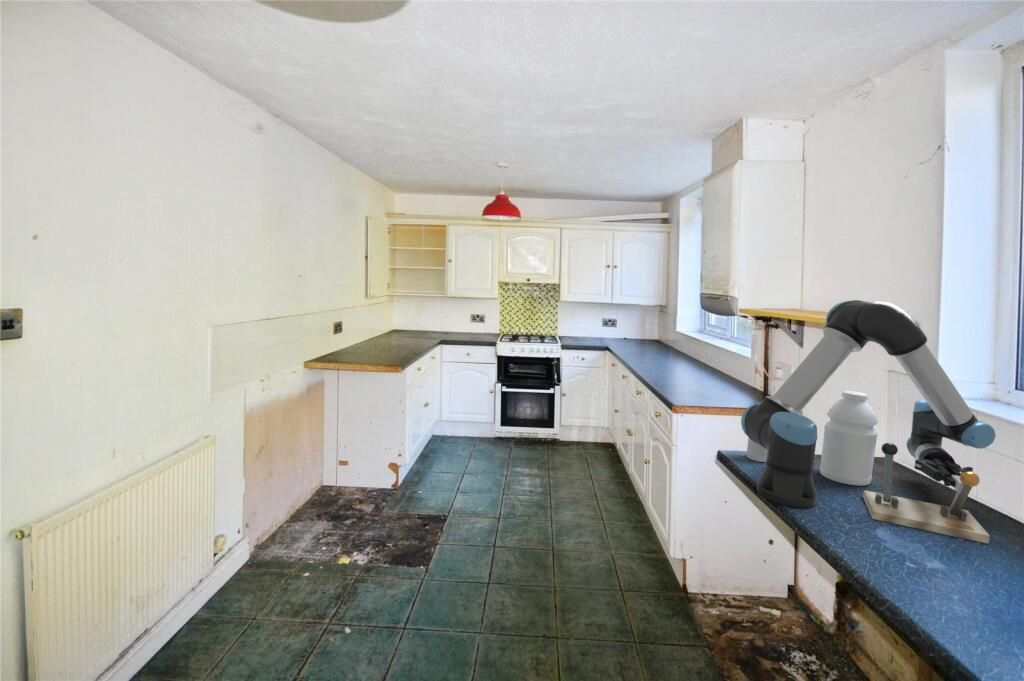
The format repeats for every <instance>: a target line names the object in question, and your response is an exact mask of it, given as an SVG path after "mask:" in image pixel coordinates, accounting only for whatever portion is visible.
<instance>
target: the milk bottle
mask: <svg viewBox="0 0 1024 681" xmlns="http://www.w3.org/2000/svg"><path fill="white" fill-rule="evenodd" d="M761 402H762V401H760V402H757V403H756V404H760V403H761ZM747 437H748V436H747ZM746 448H747V449H746V457H747V458H748V459H750V460H751V461H754V462H759V463H766V461H767V451H768V450H767V449H765V448H764V447H762V446H761V445H759V444H758V443H755V442H753V441H752V440H751V439H750V438H749V437H748V438H747V446H746Z"/></svg>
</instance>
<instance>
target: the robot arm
mask: <svg viewBox="0 0 1024 681" xmlns="http://www.w3.org/2000/svg"><path fill="white" fill-rule="evenodd" d="M826 314H827V315H826V318H825V320H826V322H825V326H824V328H823V329H822V332H823V336H822V338H821V339H820V340H819V342H818V343H817V344H816V345H815V346H814V347H813V348H812V350H811V351H810V352H809V353H808V354H807V356H806V357H805V358H804V359H803V361H801V362H800V364H799V365H798V366H797V367H796V368H795V370H794V371H793V372H792V373H791V374H790V375H789V377H788V378H787V379H786V380H785V381H784V383H783V384H782V385H781V386H780V387H779V389H777V391H776V392H775V393H774V394H773V395H766V396H765V397H764V398H763V399H762V400H761V401H760V402H761V403H760V404H757V403H756V404H752V405H750V406H747V408H746V409H745V410H744V411H743V413H742V415H741V419H740V424H741V428H742V431H743V433H744V434H745V435H746V436H747V437H749V438H750V439H751V440H752V441H753V442H755V443H758V444H759V445H761V446H762V447H764V448H765V449H767V450H768V451H767V461H766V462H765V463H766V464H765V467H764V469H763V471H762V473H761V475H760V477H759V479H758V481H757V484H756V492H757V494H759V496H761V497H763V498H764V499H766V500H768V501H771V502H773V503H776V504H778V505H779V504H780V505H783V506H787V507H793V508H801V509H803V508H804V509H806V508H811V507H815V505H817V500H818V495H817V494H818V493H817V490H816V485H815V483H814V482H815V481H814V477H813V473H814V472H813V471H814V463H815V455H816V454H815V453H816V447H817V446H816V445H817V440H818V426H817V424H816V423H815V421H813V420H812V419H811V418H809V417H807V416H805V415H802V414H800V413H801V412H802V411H803V409H804V408H805V407H806V406H807V404H809V402H811V400H812V399H813V397H814V396H815V395H817V393H818V392H819V391H820V389H822V387H823V386H824V385H825V384H826V383H827V382H828V381H829V379H830V378H831V376H832V375H833V374H834V373H835V372H836V371H837V369H839V367H840V366H841V365H842V364H843V363H844V361H845V360H846V359H847V358H848V357H849V356H850V355H851V353H856V352H860V351H861V350H862V349H864V347H865V346H866V345H867V344H868V342H874V343H875V344H878V345H879V346H881V347H882V348H883V349H884V350H885V352H886V353H887V354H888V355H889V356H891V357H894V358H896V360H897V361H898V363H899V364H900V366H901V367H902V368H903V369H904V371H905V372H906V374H907V376H908V377H909V378H910V380H911V381H912V383H913V384H914V385H915V388H916V389H917V390H918V392H919V393H920V394H921V396H922V397H923V398H924V399H918V400H916V401H915V402H914V407H913V411H912V422H911V433H910V436H909V438H908V439H907V440H906V444H905V445H906V448H907V451H908V452H909V454H910V455H911V456H912V457H913V458H914V459H915V460H914V470H917V471H919V472H921V473H923V474H925V476H928V477H929V478H930V479H933V480H934V481H936V482H943V485H944V486H945V487H952V488H954V490H955V492H957V491H958V488H959V486H960V484H961V481H960V475H961V474H962V473H963V472H967V471H969V472H973V471H974V468H973V467H972V466H967V467H966V466H963V467H961V465H960V464H958V463H956V462H955V458H953V456H951V455H950V453H949V452H947V451H946V449H944V448H943V447H942V445H943V438H945V439H947V440H951V441H953V442H956V443H959V444H961V445H963V446H965V447H969V448H974V449H979V450H980V449H986V448H988V447H989V446H991V445H992V444H993V443H994V442H995V439H996V431H995V428H994V427H993V426H991V425H990V424H988V423H986V422H985V421H982V420H981V421H980V420H978V418H977V417H976V416H975V414H974V413H973V411H972V410H971V408H970V407H969V406H968V404H967V403H966V401H965V400H964V398H963V397H962V395H961V394H960V392H959V391H958V390H957V388H956V386H955V385H954V383H953V382H952V380H951V379H950V378H949V376H948V375H947V373H946V372H945V370H944V369H943V367H942V366H941V364H940V363H939V362H938V360H937V358H936V356H934V354H933V352H932V351H931V350H930V348H929V346H928V345H927V343H928V337H927V336H926V335H925V334H926V333H925V332H924V331H923V329H921V327H920V326H919V325H918V323H916V321H915V320H914V319H913V318H912V317H911V316H910V315H909V314H908V313H907V312H905V311H904V310H903V309H902V308H900V307H899V306H897V305H895V304H893V303H890V302H885V301H864V300H859V299H854V300H853V299H852V300H845V301H841V302H838V303H836V304H835V305H834V306H832V307H831V308H830V309H829V311H828V313H826ZM973 473H974V472H973Z"/></svg>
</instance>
